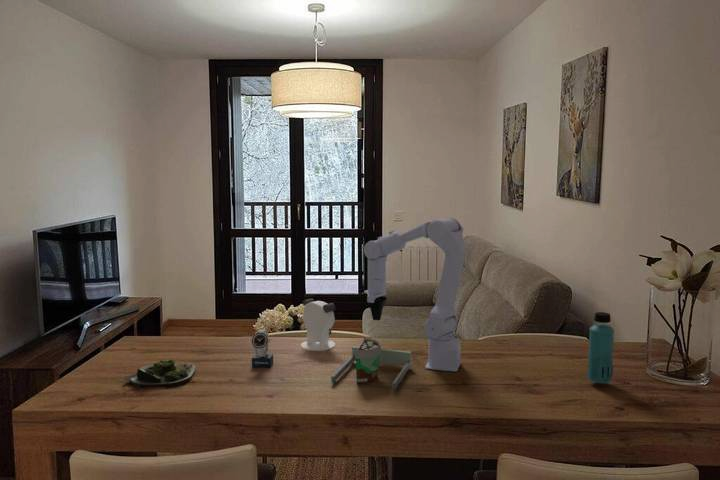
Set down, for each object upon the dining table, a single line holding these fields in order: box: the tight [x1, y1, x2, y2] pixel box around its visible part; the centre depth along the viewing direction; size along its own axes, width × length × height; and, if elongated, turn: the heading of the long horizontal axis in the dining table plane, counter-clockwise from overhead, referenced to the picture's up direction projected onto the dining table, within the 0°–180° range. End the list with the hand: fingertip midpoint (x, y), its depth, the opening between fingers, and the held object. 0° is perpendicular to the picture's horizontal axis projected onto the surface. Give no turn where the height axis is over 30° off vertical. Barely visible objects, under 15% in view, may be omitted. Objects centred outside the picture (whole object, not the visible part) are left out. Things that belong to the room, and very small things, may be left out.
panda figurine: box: [300, 298, 336, 352], centre depth 198 cm, size 12×11×15 cm
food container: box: [355, 337, 382, 385], centre depth 168 cm, size 12×6×10 cm, turn 168°
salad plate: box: [123, 358, 196, 388], centre depth 172 cm, size 19×18×5 cm
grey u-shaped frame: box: [330, 345, 412, 391], centre depth 171 cm, size 18×19×5 cm
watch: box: [251, 329, 274, 369], centre depth 179 cm, size 6×8×11 cm
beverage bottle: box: [586, 311, 615, 384], centre depth 163 cm, size 6×7×20 cm
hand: (376, 319), depth 192 cm, fingers closed
